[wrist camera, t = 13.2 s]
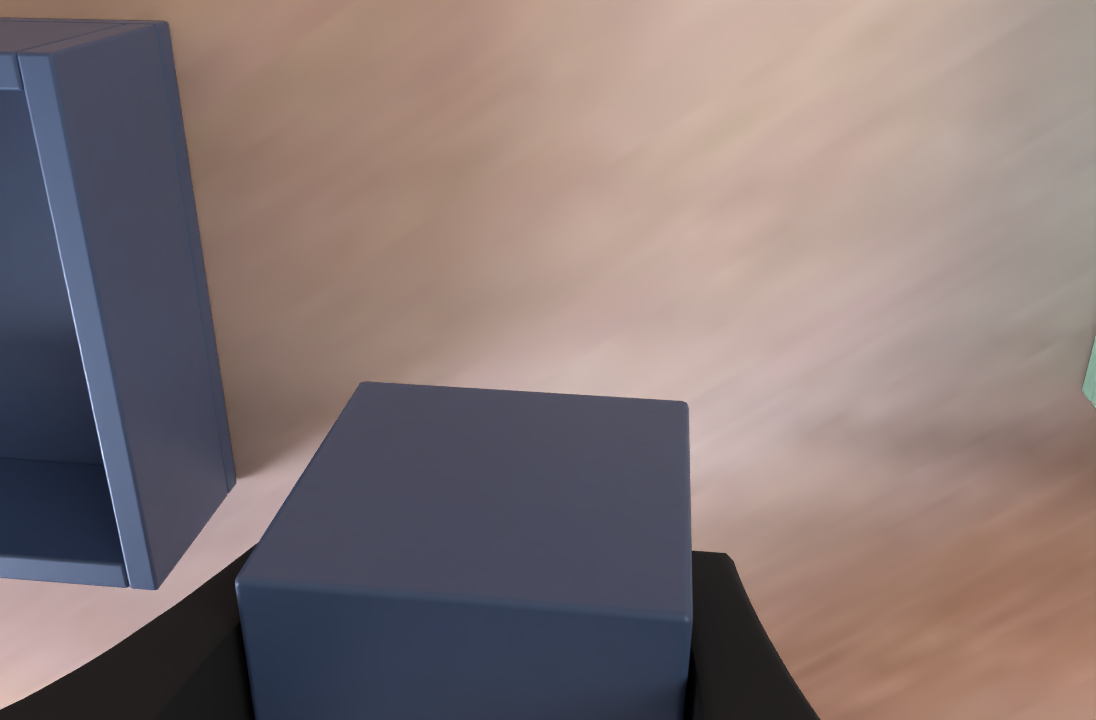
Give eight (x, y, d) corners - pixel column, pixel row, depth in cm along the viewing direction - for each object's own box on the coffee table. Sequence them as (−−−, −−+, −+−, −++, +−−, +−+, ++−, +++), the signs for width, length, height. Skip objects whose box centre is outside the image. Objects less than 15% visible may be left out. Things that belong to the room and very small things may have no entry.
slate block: (379, 636, 16) (277, 893, 12) (359, 378, 14) (230, 578, 10) (668, 661, 15) (664, 938, 11) (689, 398, 14) (693, 618, 10)
